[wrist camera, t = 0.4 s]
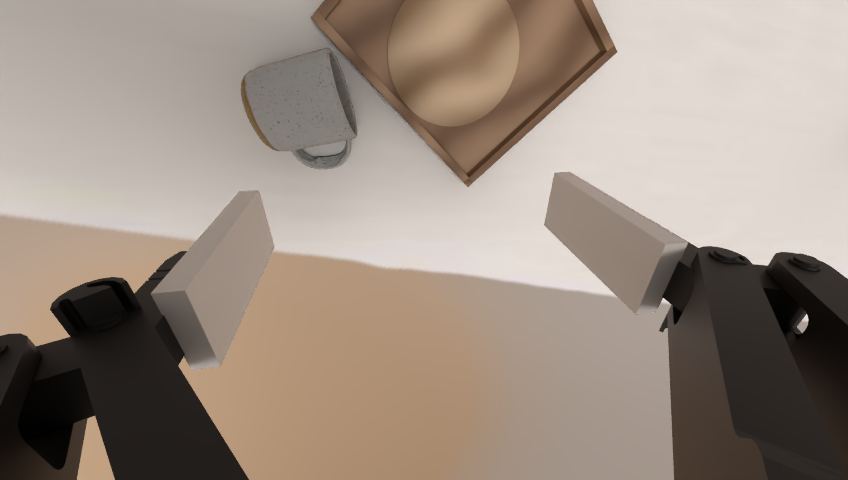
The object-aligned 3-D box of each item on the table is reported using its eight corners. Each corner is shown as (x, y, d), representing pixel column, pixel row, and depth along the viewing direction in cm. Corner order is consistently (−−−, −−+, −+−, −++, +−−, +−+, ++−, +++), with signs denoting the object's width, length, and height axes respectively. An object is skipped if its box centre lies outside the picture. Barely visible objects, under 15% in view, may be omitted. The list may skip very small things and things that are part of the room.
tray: (313, 19, 30) (310, 17, 28) (482, -193, 25) (491, -210, 23) (463, 181, 40) (467, 187, 38) (605, 51, 35) (617, 51, 33)
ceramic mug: (250, 69, 31) (220, 76, 25) (334, 46, 31) (326, 47, 25) (298, 173, 37) (284, 201, 30) (369, 153, 37) (370, 177, 30)
